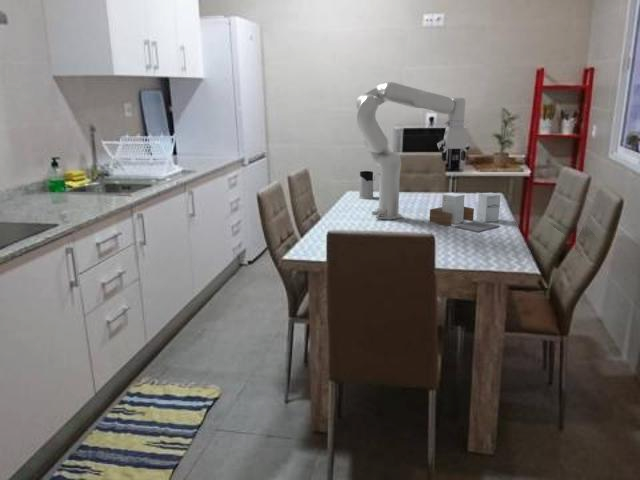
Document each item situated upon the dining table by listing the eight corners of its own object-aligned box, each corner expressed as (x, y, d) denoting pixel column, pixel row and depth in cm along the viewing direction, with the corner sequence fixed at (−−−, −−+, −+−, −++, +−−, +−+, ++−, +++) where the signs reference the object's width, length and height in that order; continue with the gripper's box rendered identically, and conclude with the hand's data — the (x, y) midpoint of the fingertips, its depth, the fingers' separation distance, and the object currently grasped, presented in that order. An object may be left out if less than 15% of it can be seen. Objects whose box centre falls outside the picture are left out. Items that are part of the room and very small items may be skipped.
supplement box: (484, 222, 246) (487, 195, 242) (476, 219, 253) (478, 193, 249) (498, 221, 248) (501, 194, 244) (489, 218, 255) (491, 192, 251)
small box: (463, 222, 247) (465, 194, 244) (455, 224, 243) (456, 196, 240) (449, 219, 253) (450, 192, 250) (440, 221, 249) (442, 193, 246)
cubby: (449, 226, 239) (450, 213, 237) (429, 221, 248) (430, 209, 246) (473, 220, 249) (473, 208, 247) (452, 216, 258) (453, 204, 256)
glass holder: (355, 197, 310) (356, 171, 306) (376, 194, 316) (376, 169, 312) (363, 199, 302) (364, 173, 298) (384, 197, 309) (385, 171, 305)
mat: (477, 232, 228) (477, 231, 228) (455, 227, 237) (455, 226, 237) (499, 226, 238) (499, 225, 237) (476, 222, 247) (476, 220, 247)
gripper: (441, 125, 246) (439, 161, 251) (476, 124, 250) (473, 161, 254) (435, 124, 253) (433, 160, 258) (468, 123, 257) (466, 159, 261)
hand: (453, 160), depth 256 cm, fingers open, 9 cm apart
